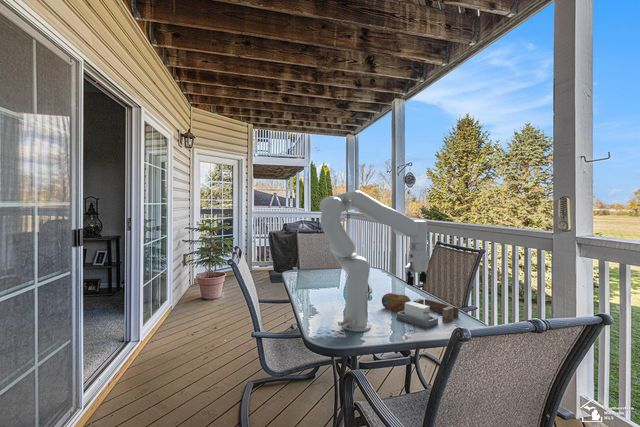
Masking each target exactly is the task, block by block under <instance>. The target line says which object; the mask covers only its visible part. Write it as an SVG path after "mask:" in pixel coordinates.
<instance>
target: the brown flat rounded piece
mask: <svg viewBox="0 0 640 427" xmlns="http://www.w3.org/2000/svg"><path fill="white" fill-rule="evenodd" d="M410 301H412V300H411V298H410V297H409V296H408V295H406V294H399V293H393V292H389V293H388V292H387V293H386V294H384V295H383V296H382V297H381V304H382V306H383V308H385V310H387V311H395V312H401V311H404V310H405V303H407V302H410Z"/></svg>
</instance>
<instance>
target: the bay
mask: <svg viewBox="0 0 640 427" xmlns="http://www.w3.org/2000/svg"><path fill="white" fill-rule="evenodd" d="M412 302H416V303H419V304H423V305H426V306H430V311H431V312H434V313H435V312H436V313H439V314H442V315H441V316H442V322H443V323H446V324H447V323H449V322H451V321H454V318H455V319H460V318H459V313H460V312H459V310H460V308H459V307H458V306H454V305H450V304H447V303H443V302H440V301H436V300H433V299H429V298H425V299H423V298H417V299H413V301H412Z"/></svg>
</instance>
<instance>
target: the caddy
mask: <svg viewBox="0 0 640 427" xmlns="http://www.w3.org/2000/svg"><path fill="white" fill-rule="evenodd" d="M430 313H432V311H431V310H430V306H426V305H425V304H424V305H423V304H419V303H416V302H413V301H412V300H411V301H410V302H407V303H405V315H407V316H410V317H413V318H416V319H419V320H422V321H425V322H426V321H429V315H430Z"/></svg>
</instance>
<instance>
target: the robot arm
mask: <svg viewBox="0 0 640 427" xmlns="http://www.w3.org/2000/svg"><path fill="white" fill-rule="evenodd" d="M319 210H320V213H321V216H320V224H321V228H322V231H323V233H324V234H325V237H326V238H327V240H328V248H329V250H330V252H331V253H332V255H333V257H334V258H335V260H336V261H337V263H338V265H339V266H340V267H341V269H342V270H343V271H344V272H345V273H347V279H346V283H345V285H346V286H345V292H346V294H345V316H344V317H343V319H342V320H339V321H338V322H337V326H338V327H342V328H343V329H345V330H346V331H350V332H356V333H361V332H366V331H369V330H371V329H372V328H371V327H372V325H371V323H370V322H369V321H368V305H369V304H368V302H369V300H368V299H369V294H368V293H369V292H368V291H369V277H370V272H371V271H370V270H371V269H370V268H371V267H370V264H369V263H370V262H368V260H367V259H366V258H365V257H363V256H362V255H359V254H357V253H356V247H355V246H356V245H355V243H354V240H353V239H352V237H350V234H348V231H346V228H345V227H344V225H343V224H342V221H341V216H342V215H341V214H342V213H344V212H347V211H350V210H354V211H356V212H358V213H359V214H362V215H363V216H364V217H366V218H368V219H370V220H371V221H374V222H375V223H377V224H381V225H384V226H388V227H391V229H392V231H393V233H395V234H396V235H397V236H402V237H408V238H409V247H408V249H409V250H408V256H407V257H408V258H407V265H405V266H404V271H405V274H406V285H409V286H414V285H415V284H414V282H415V280H414V279H415V276H414V274H415V273H417V274H418V273H419V283H423V284H426V283H427V275H428V270H429V266H430V264H429V257H428V250H427V247H428V246H427V245H428V244H427V243H428V242H427V240H428V222H427V221H425V220H419V219H418V220H415V219H413V218H411V217H409V216H407V215H405V214H404V213H403V212H400V211H398V210H396V209H393V208H392V207H389V206H388V205H385V204H384V203H381V201H378V200H377V199H374V198H373V197H372V196H369V195H368V194H367V193H365V192H363V191H362V190H350V191H347V192H343V193H339V194H335V195H330V196H326V197H324V198H322V200H320V202H319Z"/></svg>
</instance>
